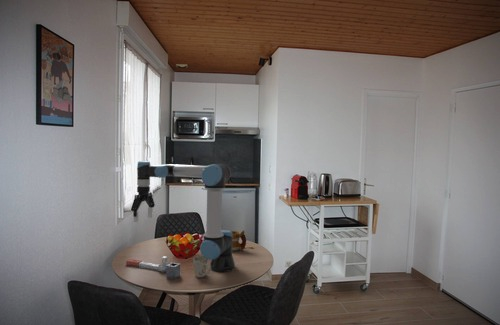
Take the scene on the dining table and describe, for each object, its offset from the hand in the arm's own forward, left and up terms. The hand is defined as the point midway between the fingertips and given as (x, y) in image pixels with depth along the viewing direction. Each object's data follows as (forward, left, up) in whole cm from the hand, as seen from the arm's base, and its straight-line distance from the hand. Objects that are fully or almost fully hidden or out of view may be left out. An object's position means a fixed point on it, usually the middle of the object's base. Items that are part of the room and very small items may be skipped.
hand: (143, 219), depth 200 cm
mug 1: (-44, +4, -28) cm, 52 cm away
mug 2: (-44, -47, -28) cm, 71 cm away
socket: (-29, +11, -28) cm, 42 cm away
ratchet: (-8, +5, -28) cm, 29 cm away
